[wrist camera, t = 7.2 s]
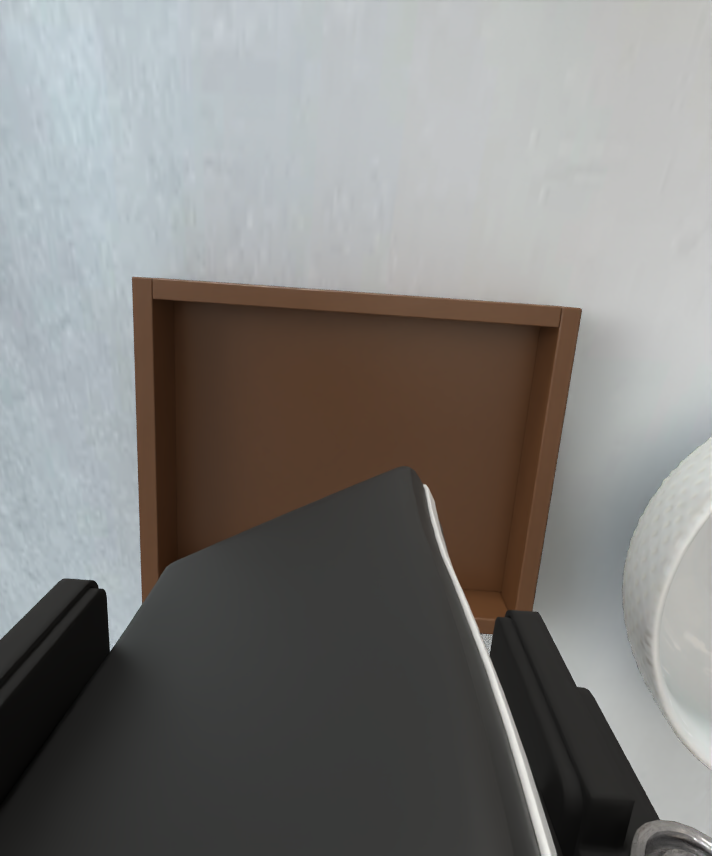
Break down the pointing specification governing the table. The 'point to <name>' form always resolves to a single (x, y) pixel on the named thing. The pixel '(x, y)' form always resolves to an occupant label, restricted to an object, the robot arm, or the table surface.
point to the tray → (349, 417)
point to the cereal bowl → (675, 600)
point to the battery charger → (293, 706)
